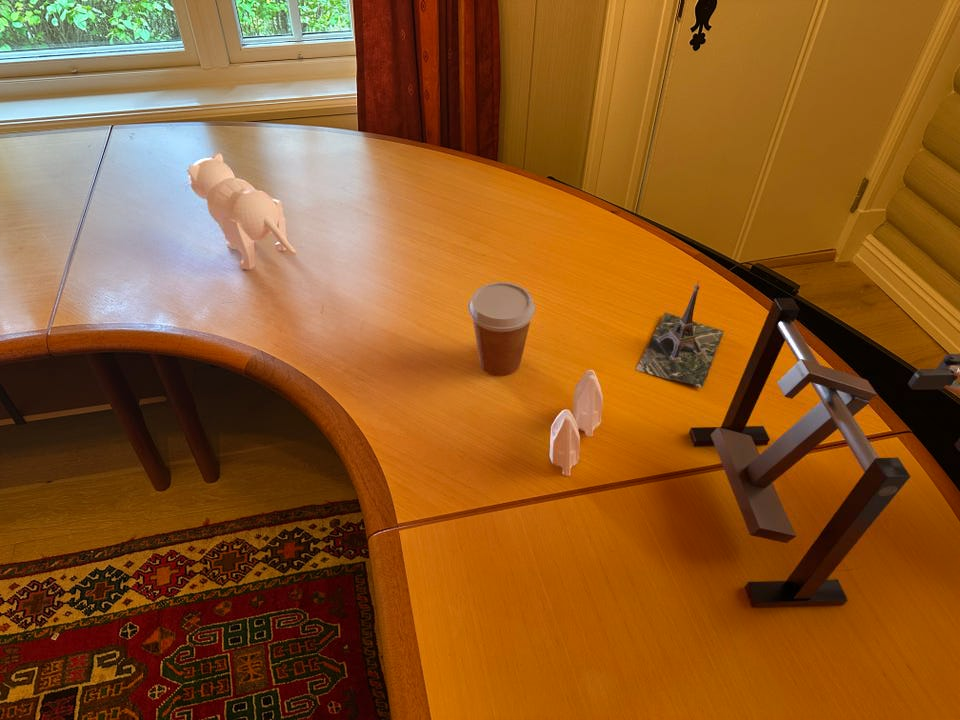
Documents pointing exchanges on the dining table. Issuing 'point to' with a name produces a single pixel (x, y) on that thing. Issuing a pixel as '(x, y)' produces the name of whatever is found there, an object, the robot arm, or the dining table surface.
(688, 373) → the eiffel tower figurine
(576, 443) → the shaker set
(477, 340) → the disposable coffee cup
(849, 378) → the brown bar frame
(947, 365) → the robot arm
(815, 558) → the rack
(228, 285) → the dining table surface
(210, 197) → the cat figurine
